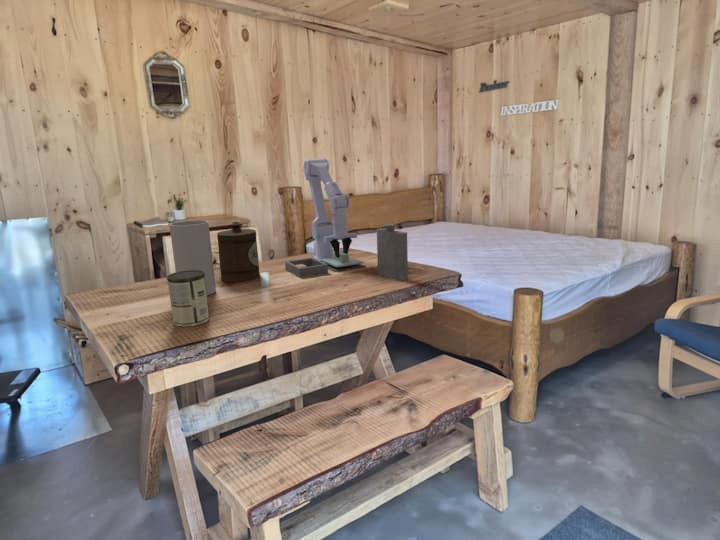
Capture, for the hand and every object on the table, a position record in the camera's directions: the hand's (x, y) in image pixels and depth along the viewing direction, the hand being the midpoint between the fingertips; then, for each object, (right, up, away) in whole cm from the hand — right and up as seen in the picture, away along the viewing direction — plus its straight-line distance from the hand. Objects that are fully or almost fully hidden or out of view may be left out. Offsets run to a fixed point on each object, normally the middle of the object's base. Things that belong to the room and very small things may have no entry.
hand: (341, 256), depth 202 cm
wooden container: (-39, -9, -12) cm, 42 cm away
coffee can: (-42, -21, -60) cm, 76 cm away
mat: (0, -4, +1) cm, 4 cm away
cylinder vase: (-49, -14, -32) cm, 61 cm away
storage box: (-14, -6, -6) cm, 16 cm away
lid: (0, -3, +1) cm, 3 cm away
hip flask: (+20, -8, -20) cm, 29 cm away
